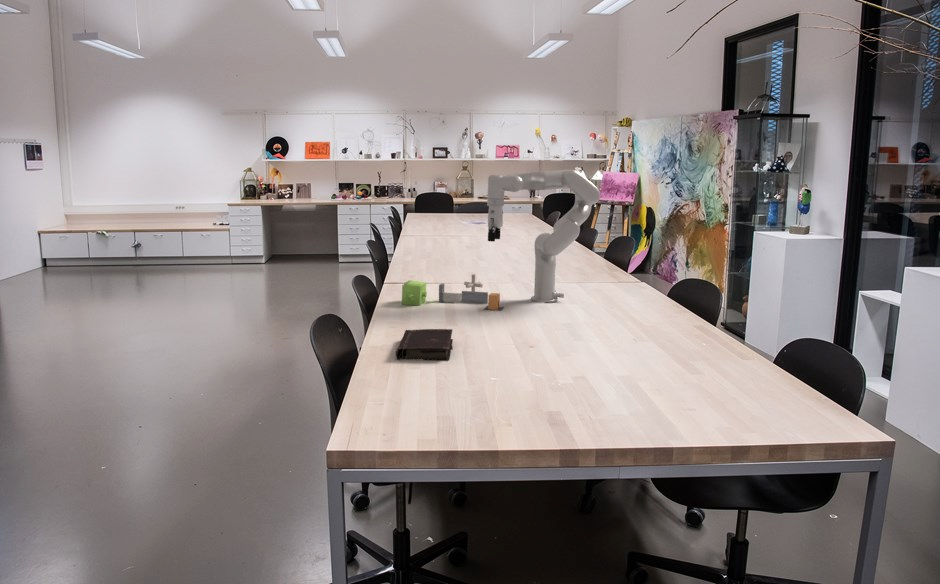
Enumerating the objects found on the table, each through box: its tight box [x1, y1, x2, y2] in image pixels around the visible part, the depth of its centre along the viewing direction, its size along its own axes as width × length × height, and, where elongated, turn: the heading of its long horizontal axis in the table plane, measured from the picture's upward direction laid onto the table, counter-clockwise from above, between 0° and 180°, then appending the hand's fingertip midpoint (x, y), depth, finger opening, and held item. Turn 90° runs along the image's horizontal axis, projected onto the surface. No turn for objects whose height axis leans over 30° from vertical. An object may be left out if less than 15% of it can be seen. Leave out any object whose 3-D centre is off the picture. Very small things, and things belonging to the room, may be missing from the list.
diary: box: [395, 328, 454, 362], centre depth 246 cm, size 19×25×5 cm
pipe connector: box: [463, 273, 484, 292], centre depth 342 cm, size 10×10×10 cm
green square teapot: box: [401, 280, 428, 306], centre depth 321 cm, size 18×10×10 cm, turn 168°
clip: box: [487, 292, 501, 311], centre depth 311 cm, size 4×6×6 cm
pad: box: [482, 305, 505, 312], centre depth 312 cm, size 8×8×1 cm
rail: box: [438, 283, 489, 304], centre depth 324 cm, size 22×5×8 cm, turn 77°
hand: (493, 240), depth 322 cm, fingers open, 9 cm apart
